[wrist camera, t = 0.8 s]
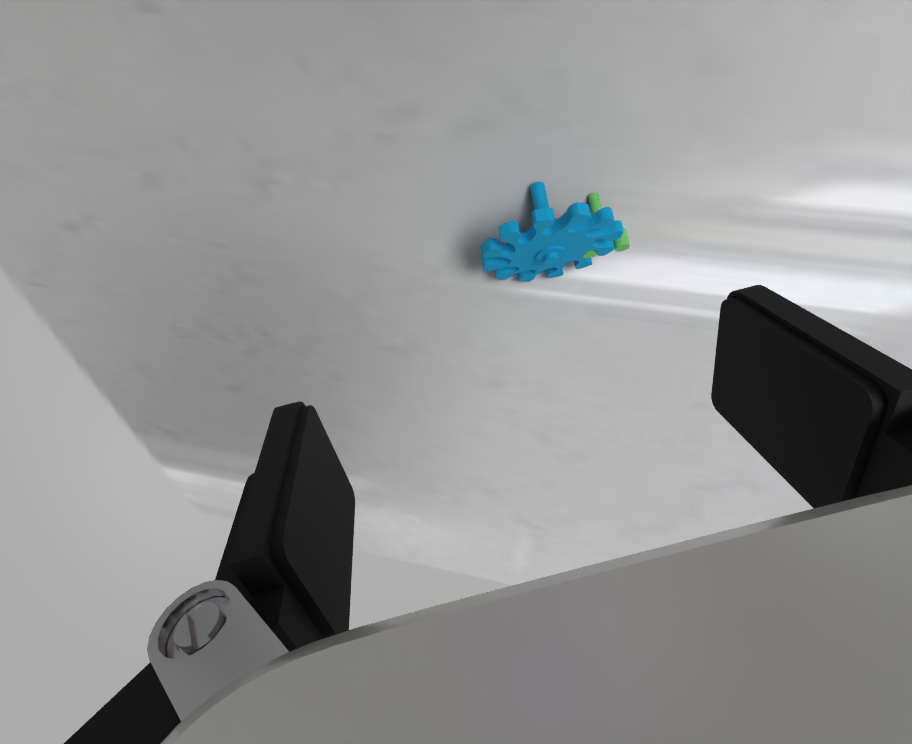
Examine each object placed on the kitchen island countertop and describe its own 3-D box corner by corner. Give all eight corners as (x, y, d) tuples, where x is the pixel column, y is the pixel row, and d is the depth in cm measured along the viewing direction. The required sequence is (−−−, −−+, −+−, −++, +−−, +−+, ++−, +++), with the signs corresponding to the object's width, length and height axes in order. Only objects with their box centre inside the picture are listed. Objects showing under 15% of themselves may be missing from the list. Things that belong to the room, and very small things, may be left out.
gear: (465, 290, 37) (511, 223, 28) (455, 221, 39) (495, 135, 29) (591, 285, 40) (670, 223, 31) (578, 221, 42) (650, 143, 32)
